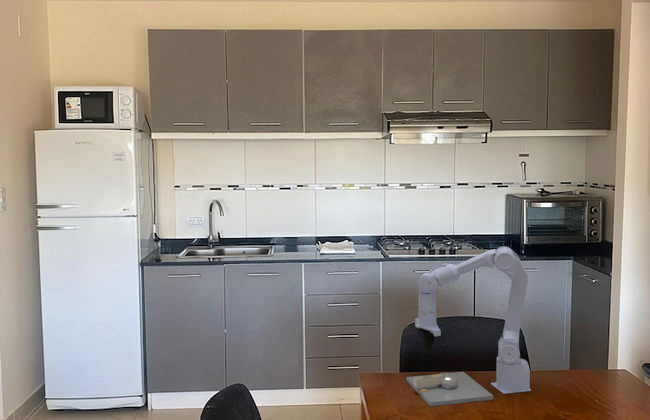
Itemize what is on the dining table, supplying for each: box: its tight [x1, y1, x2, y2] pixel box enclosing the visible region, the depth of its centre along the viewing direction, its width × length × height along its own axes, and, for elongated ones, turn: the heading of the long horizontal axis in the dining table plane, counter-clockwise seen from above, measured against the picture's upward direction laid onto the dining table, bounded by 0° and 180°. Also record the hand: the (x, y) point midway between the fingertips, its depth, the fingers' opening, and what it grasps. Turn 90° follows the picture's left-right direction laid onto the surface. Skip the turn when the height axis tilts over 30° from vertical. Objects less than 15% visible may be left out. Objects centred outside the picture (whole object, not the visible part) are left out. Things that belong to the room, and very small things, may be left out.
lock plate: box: [405, 371, 494, 407], centre depth 170 cm, size 20×20×2 cm
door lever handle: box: [414, 372, 458, 389], centre depth 169 cm, size 14×6×4 cm, turn 105°
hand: (427, 351), depth 178 cm, fingers closed
